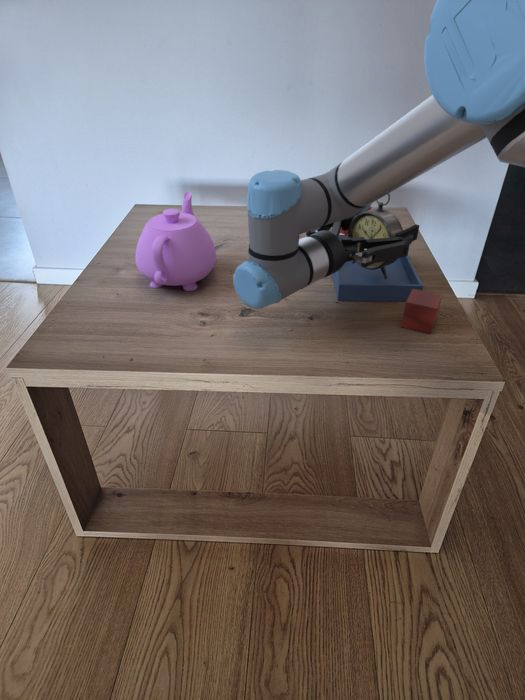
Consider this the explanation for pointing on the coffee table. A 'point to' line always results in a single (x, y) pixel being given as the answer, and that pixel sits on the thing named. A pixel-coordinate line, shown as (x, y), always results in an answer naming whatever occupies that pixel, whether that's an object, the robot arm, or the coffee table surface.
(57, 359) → the coffee table surface
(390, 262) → the alarm clock
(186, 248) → the teapot
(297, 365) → the coffee table surface
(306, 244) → the robot arm
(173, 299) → the coffee table surface
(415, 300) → the red block
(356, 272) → the blue tray
